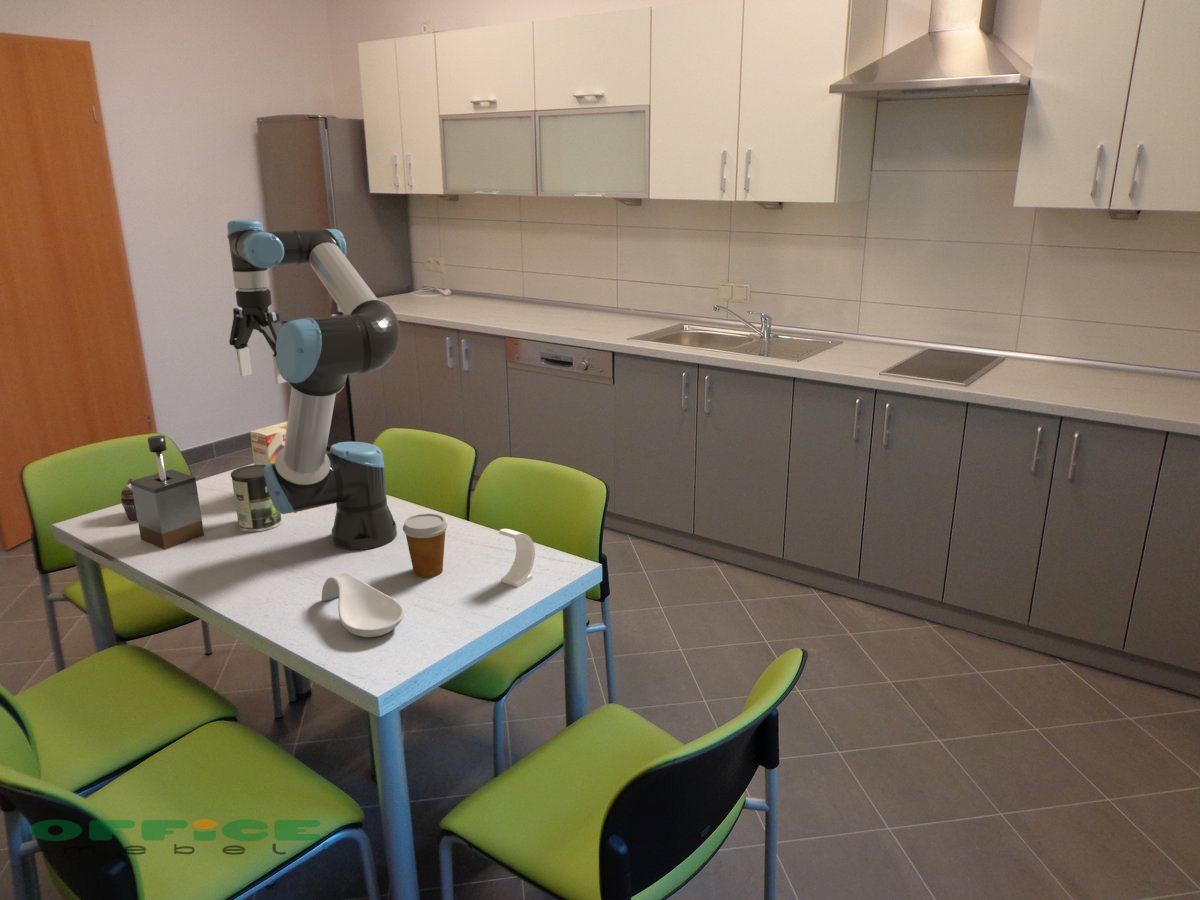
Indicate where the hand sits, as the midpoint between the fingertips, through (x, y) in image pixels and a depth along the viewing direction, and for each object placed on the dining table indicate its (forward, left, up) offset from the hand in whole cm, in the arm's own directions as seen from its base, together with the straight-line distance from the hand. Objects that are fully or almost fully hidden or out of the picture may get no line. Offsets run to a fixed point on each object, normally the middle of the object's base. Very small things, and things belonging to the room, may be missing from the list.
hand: (263, 379), depth 204 cm
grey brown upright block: (+13, +21, -37) cm, 44 cm away
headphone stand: (-70, -8, -37) cm, 80 cm away
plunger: (+13, +21, -32) cm, 40 cm away
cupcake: (+32, +17, -37) cm, 52 cm away
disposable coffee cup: (-51, 0, -37) cm, 63 cm away
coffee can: (+3, +4, -37) cm, 37 cm away
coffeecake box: (+14, -13, -37) cm, 42 cm away
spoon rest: (-54, +23, -37) cm, 70 cm away
